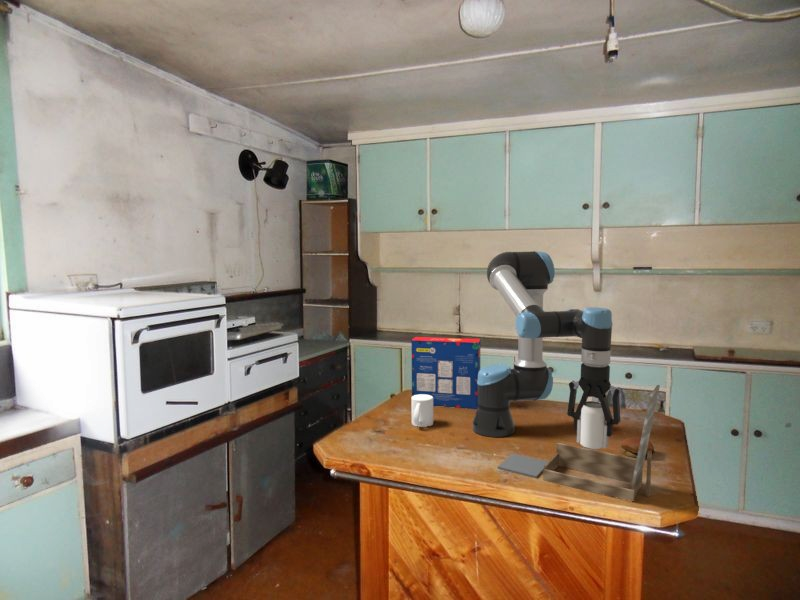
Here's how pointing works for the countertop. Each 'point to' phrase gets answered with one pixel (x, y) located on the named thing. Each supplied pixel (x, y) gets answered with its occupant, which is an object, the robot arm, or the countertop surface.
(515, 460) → the mat
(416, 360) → the blue board game box
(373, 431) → the countertop surface
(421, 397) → the mug
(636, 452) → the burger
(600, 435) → the can
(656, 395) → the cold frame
